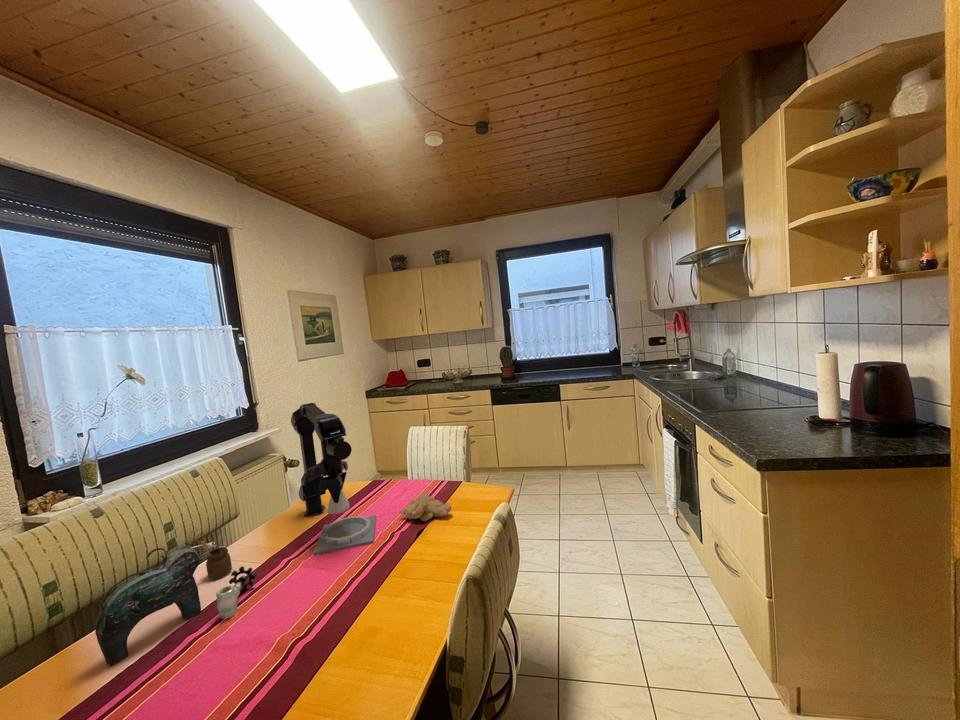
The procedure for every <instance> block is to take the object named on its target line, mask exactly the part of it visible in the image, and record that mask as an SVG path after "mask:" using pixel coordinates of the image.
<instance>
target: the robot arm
mask: <svg viewBox="0 0 960 720" xmlns="http://www.w3.org/2000/svg"><path fill="white" fill-rule="evenodd" d="M290 423H291V426H292V427H293V430H294V431H295V432H296V433H297V435H299V442H300V449H301V457H302V464H303V475H302V477H301V479H300V486H299V490H298V491H299V492H298V497H299V499H300V501H302V502H305V503H304V504H305V510H306V511H305V512H304V514H303V516H304V517H308V516H309V517H310V516H313V515H314V516H315V515H319V514H322V513H323V512H324V509H325V504H323V501H322V496H323V495H326V492H327V491H328V492H329V494H330V497H331V496H332V498H333V501H334V503H338V501H339V497H340V493H341V489H342V490H343V488H344V484H345V482H346V481H345V480H346V476H347V472H348V469H349V466H348V462H346V460H347V459H348V458H349V457H350V455H351V453H352V450H353V449H352V445H351V444H350V443H349V442H347V441H345V438H344V437H346V436H347V433H346V430H347V429H346V427H345V426H344V424H343V422H342V420H341V419H340V417H338V415H336V414H334V413H326V412H324V410H322V409H321V408H320V407H318V406H317V404H316V402H310V403H304V404H302V405H301V404H300V406H299V407H298V409H296V410H295V411H293V412H292V415H291V417H290ZM314 432H315V433H316V436H317V438H318V439H319V441H320V448H321V454H322V455H321V456H322V459H321V460H320V462H318V463H317V457H316V450H315V449H316V447H315V440H314ZM344 470H345V471H344ZM343 471H344V472H343Z"/></svg>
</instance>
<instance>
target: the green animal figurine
mask: <svg viewBox="0 0 960 720" xmlns="http://www.w3.org/2000/svg"><path fill="white" fill-rule="evenodd" d="M159 550H161V551H163V552H164V553H165V554H160V557H161V558H162V559H163V560H162V563H161V564H160V565H159V566H157V567H154V568H150V569H148V570H144V571H140V572H136V573H131V574H129V575H128V576H126V577H124V578H122V579H120V580H119V581H117V582H115V583H114V584H113V585H112V586H111V587H109V588H108V590H106V592H105V593H104V595H103V596H102V600H101V602H100V608H99V609H100V610H99V613H98V616H97V619H96V622H95V628H94V629H95V631H94V632H95V636H96V640H97V643H98V645H99V648H100V651H101V653H102V656H103V657H104V661H105V663H106V664H107V665H108V666H109V667H113V666H114V665H117V664H119V663H120V662H122V661H123V660H125V659H126V658H127V657H128V656H129V650H128V638H129V636H130V634H131V632H132V631H133V630H134V628H135V626H137V625H138V623H140V621H142V620H143V619H144V618H146V617H148V616H150V615H152V614H154V613H156V612H158V611H160V610H162V609H165V608H167V607H170V606H172V605H173V604H175V605H176V607H177V608H178V610H179V611H180V614H181V617H182V618H183V619H184V620H186V621H189V620H190V619H192V618H193V617H194V616H196V615H198V614H200V613H202V607H201V599H200V595H199V588H198V585H197V582H196V579H195V577H194V574H195V572H196V570H197V568H198V567H199V564H200V557H199V554H198V552H197V551H196V550H195V549H194V548H192V547H191V545H190V544H189V542H188V541H184V542H183V545H182V546H181V548H178V549H175V550H174V551H172V552H171V553H170V554H167V551H166V550H165V548H162V547H158V548H156V547H155V548H154V549H152V550H151V551H149V552H148V554H147V555H146V557H145V559H146V560H148V558H149V557H150V556H151V554H153V553H154V552H156V551H159ZM134 576H135V577H134ZM131 577H133V578H131ZM129 578H131V579H130V580H128V581H127V582H125V583H123V584H122V585H120V586H118V587H117V585H119V584H121V583H122V582H124V581H125V580H127V579H129ZM115 587H117V588H115ZM114 588H115V590H114V591H113V592H112V593H111V594H110V595H109V593H110V592H111V591H112V589H114ZM108 595H109V596H108ZM107 596H108V597H107ZM105 599H106V600H105Z"/></svg>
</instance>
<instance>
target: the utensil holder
mask: <svg viewBox="0 0 960 720" xmlns="http://www.w3.org/2000/svg"><path fill="white" fill-rule="evenodd" d="M220 537H221V538H220ZM222 537H223V538H222ZM220 539H227V535H226V534H221V535H219V537H218V538H217V541H220ZM200 542H201V544H202V547H203V549H204V550H205V551H206V552H207V553H206V564H205V565H206V573H207V578H208V580H212V581H215V580H219V579H223V578H224V577H226V576H228V575H229V574H230V573H232V569H233V566H232V560H231V556H230V553H229V550H228V548H227V545H228V543H227V542H223V546H217V548H215V549H211V550H210V549H209V547H208V545H207V544H206V541H203V540H201V541H200Z"/></svg>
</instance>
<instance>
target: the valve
mask: <svg viewBox="0 0 960 720" xmlns="http://www.w3.org/2000/svg"><path fill="white" fill-rule="evenodd" d="M252 571H253V568H252V567H248V568H247V570H246V569H245V567H244V566H242V565H241V566H240V567H239V568H238V571H237V570H233V571H231V574H230V576H231V577H232V578H230V579H229V580H228V583H229V584H230V585H225V586H223V587H221V588H220V589H218V590H217V592H216V594H215V596H216V601H217V602H216V609H217V610H218V612H219V613H218V615H219V619H220V618H222V619H221V620H223V619H227V618H229V617H231V616H233V615H235V616H236V614H237V613H236V611H237V610H238V611H239V608H238V604H237V603H238V598H239V595H241V594H240V593H241V591H242V592H245V591H247V589H248V586H249V587H250V588H252V587H254V585H255V581H254V580H255V579H256V578H257V574H256V573H253V574H252ZM241 574H245V575H241ZM239 575H241V576H239ZM238 576H239V578H238ZM237 578H238V579H237ZM248 578H249V579H248ZM247 579H248V582H246V581H247ZM232 584H234V585H232ZM240 590H241V591H240ZM244 590H245V591H244ZM238 611H237V612H238ZM235 613H236V614H235ZM233 617H234V616H233ZM231 618H232V617H231ZM229 619H230V618H229ZM227 620H228V619H227Z"/></svg>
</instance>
